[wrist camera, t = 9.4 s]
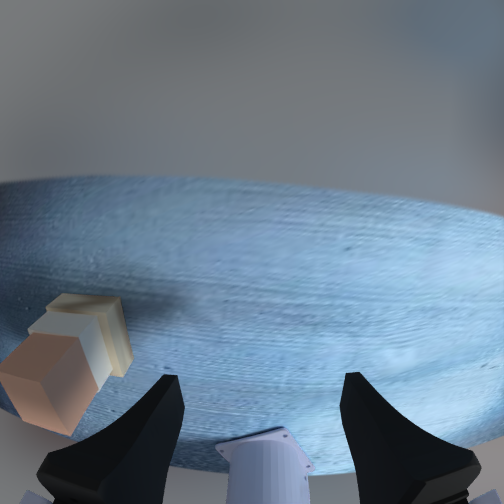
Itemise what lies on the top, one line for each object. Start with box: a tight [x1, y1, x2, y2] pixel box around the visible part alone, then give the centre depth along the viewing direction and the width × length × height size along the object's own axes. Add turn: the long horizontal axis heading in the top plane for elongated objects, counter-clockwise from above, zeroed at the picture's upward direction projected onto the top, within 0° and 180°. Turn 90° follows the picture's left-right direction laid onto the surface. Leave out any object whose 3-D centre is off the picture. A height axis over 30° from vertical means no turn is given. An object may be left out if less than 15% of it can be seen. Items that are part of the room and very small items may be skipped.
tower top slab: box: [28, 311, 113, 393], centre depth 20 cm, size 5×5×3 cm
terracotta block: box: [0, 332, 99, 436], centre depth 16 cm, size 4×4×5 cm
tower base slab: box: [46, 293, 134, 377], centre depth 23 cm, size 6×6×3 cm
